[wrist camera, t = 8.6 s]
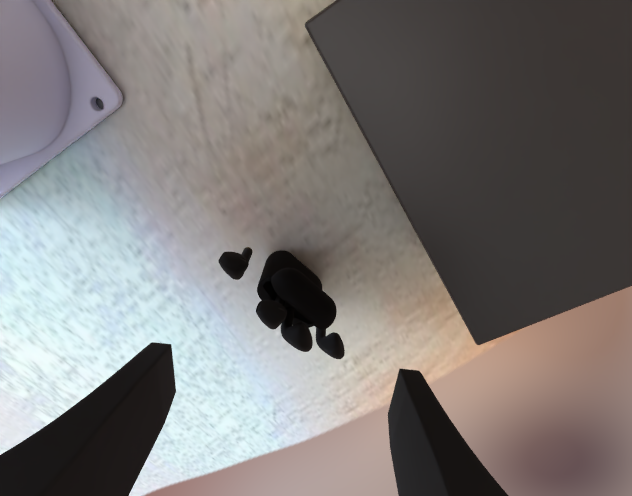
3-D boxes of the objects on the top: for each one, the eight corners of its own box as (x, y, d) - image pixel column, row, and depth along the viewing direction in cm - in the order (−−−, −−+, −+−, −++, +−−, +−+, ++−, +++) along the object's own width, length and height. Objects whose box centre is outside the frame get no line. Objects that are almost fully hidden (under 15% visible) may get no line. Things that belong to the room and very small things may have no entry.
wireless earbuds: (230, 233, 18) (196, 291, 14) (265, 198, 17) (240, 248, 13) (333, 319, 20) (332, 395, 16) (369, 292, 19) (378, 363, 15)
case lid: (897, 166, 10) (928, 171, 10) (472, 335, 13) (477, 346, 13) (891, -393, 6) (941, -435, 6) (305, 25, 10) (303, 23, 9)
